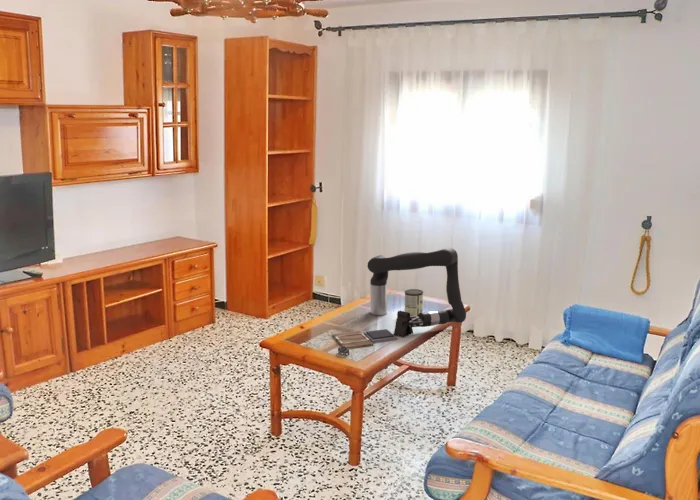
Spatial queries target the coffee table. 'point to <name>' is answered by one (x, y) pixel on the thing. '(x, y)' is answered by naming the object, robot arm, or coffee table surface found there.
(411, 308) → the coffee can
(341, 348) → the car cutout
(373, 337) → the ink pad
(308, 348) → the coffee table surface
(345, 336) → the marked board
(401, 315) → the phone stand
